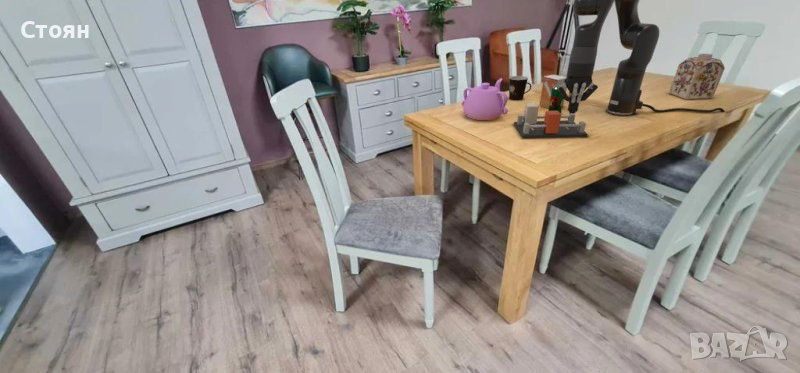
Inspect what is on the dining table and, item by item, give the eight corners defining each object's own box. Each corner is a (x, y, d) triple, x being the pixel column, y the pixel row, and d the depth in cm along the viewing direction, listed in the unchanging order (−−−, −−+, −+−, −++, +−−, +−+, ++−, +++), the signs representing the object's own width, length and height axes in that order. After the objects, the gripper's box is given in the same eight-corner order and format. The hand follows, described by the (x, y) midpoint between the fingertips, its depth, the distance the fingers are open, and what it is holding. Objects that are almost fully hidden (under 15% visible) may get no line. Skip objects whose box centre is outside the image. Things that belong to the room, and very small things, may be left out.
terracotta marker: (553, 129, 122) (557, 110, 118) (557, 133, 118) (561, 114, 114) (542, 129, 122) (545, 110, 119) (546, 133, 118) (549, 114, 115)
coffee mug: (504, 97, 167) (506, 76, 162) (521, 95, 167) (523, 75, 163) (513, 103, 157) (515, 81, 152) (530, 102, 157) (533, 80, 152)
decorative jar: (713, 98, 147) (731, 55, 138) (686, 100, 147) (702, 57, 138) (693, 92, 157) (708, 51, 148) (667, 93, 158) (681, 52, 149)
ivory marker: (533, 120, 131) (535, 103, 127) (536, 124, 127) (539, 106, 123) (522, 120, 131) (525, 103, 128) (525, 124, 127) (527, 106, 124)
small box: (539, 105, 152) (543, 76, 146) (549, 103, 154) (554, 74, 148) (552, 110, 146) (557, 79, 139) (563, 107, 148) (569, 77, 141)
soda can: (561, 116, 138) (567, 86, 132) (548, 116, 139) (553, 86, 133) (559, 112, 142) (564, 83, 136) (546, 112, 143) (551, 83, 137)
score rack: (571, 123, 130) (573, 111, 128) (587, 137, 117) (590, 124, 115) (513, 124, 132) (515, 113, 130) (522, 138, 119) (524, 126, 117)
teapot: (521, 112, 145) (525, 79, 138) (496, 126, 132) (499, 91, 125) (477, 104, 158) (479, 74, 152) (450, 116, 145) (451, 84, 138)
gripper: (565, 63, 105) (555, 117, 113) (609, 61, 103) (596, 115, 112) (556, 59, 111) (548, 110, 120) (598, 57, 110) (587, 108, 118)
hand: (572, 112), depth 116 cm, fingers closed
